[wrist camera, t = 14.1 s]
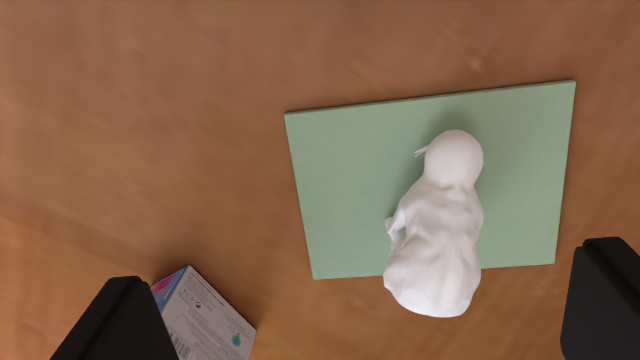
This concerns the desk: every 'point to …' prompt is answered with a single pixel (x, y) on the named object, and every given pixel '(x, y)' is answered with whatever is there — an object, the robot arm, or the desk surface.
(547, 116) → the desk mat
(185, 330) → the ink cartridge box
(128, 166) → the desk surface
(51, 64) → the desk surface
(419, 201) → the white figurine
